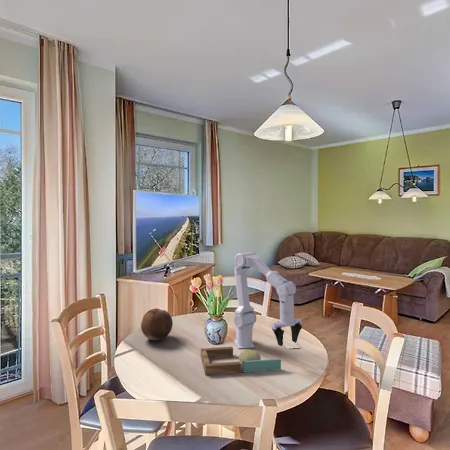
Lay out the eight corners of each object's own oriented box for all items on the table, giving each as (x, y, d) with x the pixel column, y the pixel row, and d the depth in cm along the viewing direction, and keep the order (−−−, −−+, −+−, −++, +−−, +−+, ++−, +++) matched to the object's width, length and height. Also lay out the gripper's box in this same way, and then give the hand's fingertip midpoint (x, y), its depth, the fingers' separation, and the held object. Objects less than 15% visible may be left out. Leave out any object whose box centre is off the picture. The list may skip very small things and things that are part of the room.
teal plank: (241, 372, 130) (241, 362, 130) (240, 370, 131) (240, 360, 131) (280, 369, 133) (281, 359, 133) (279, 367, 134) (280, 357, 134)
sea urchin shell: (245, 350, 146) (256, 341, 142) (255, 366, 143) (267, 358, 139) (232, 357, 139) (244, 348, 135) (243, 374, 136) (255, 366, 132)
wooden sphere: (177, 335, 166) (177, 306, 165) (164, 347, 151) (164, 315, 150) (149, 331, 169) (150, 303, 168) (134, 343, 155) (135, 312, 154)
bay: (200, 356, 143) (200, 348, 143) (232, 354, 146) (232, 346, 146) (205, 375, 128) (205, 366, 127) (240, 372, 130) (240, 363, 130)
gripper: (278, 316, 131) (279, 350, 131) (306, 310, 138) (307, 343, 138) (268, 312, 137) (269, 344, 137) (295, 307, 144) (295, 337, 144)
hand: (287, 343), depth 138 cm, fingers open, 7 cm apart
